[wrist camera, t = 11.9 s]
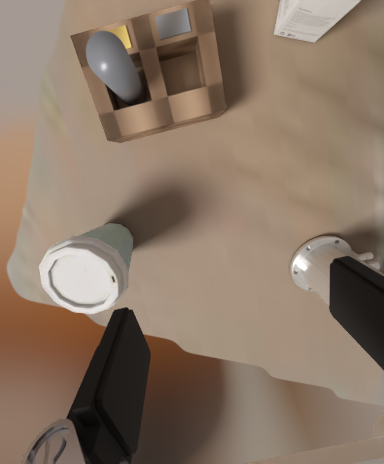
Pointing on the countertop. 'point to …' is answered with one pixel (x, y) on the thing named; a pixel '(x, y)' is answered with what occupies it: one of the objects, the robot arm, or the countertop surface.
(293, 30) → the skincare box
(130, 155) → the countertop surface
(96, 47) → the peg
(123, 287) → the disposable coffee cup
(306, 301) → the countertop surface
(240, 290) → the countertop surface
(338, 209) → the countertop surface
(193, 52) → the socket block
